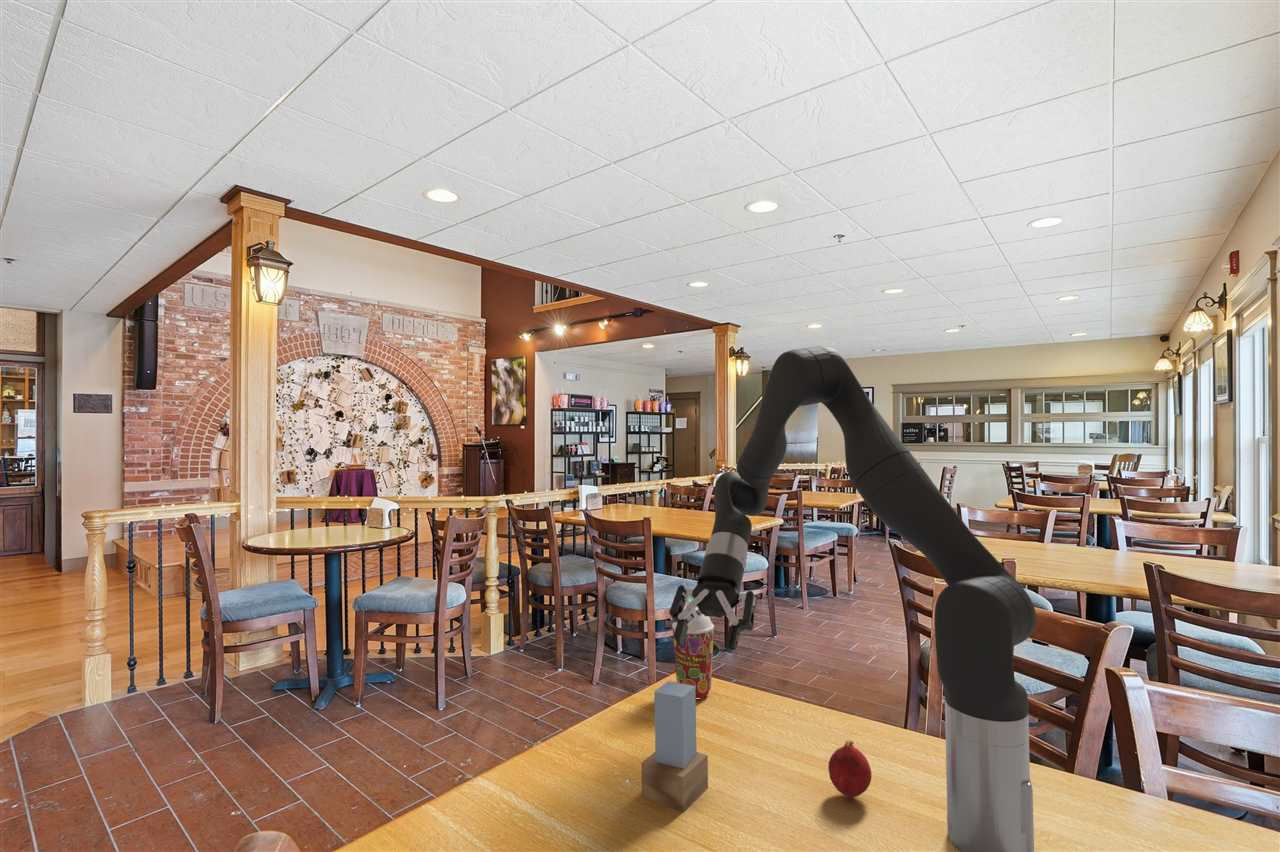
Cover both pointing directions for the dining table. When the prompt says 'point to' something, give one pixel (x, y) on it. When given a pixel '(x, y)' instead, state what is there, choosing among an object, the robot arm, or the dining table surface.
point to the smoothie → (695, 655)
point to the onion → (849, 770)
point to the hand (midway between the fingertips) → (703, 647)
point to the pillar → (675, 724)
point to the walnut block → (675, 782)
